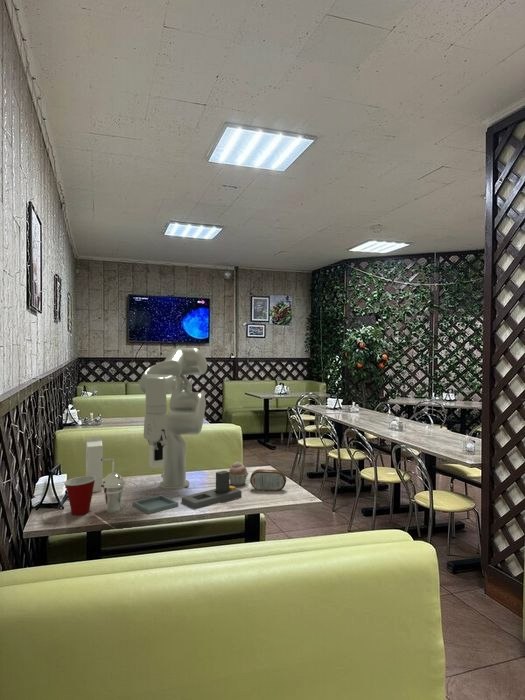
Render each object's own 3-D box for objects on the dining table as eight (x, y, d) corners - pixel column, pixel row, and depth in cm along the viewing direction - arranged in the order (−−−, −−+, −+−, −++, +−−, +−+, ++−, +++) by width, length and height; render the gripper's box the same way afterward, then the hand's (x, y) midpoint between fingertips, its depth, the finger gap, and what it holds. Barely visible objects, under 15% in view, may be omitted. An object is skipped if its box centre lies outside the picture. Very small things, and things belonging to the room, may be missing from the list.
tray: (133, 506, 167) (133, 501, 167) (161, 499, 176) (161, 494, 176) (148, 515, 159) (148, 510, 159) (178, 507, 167) (178, 502, 167)
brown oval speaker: (286, 489, 189) (286, 469, 189) (285, 492, 186) (285, 471, 186) (250, 488, 190) (250, 468, 190) (249, 490, 187) (249, 470, 187)
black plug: (215, 497, 178) (215, 472, 178) (224, 495, 181) (224, 470, 181) (220, 499, 175) (220, 474, 175) (229, 497, 178) (229, 472, 178)
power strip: (181, 503, 171) (181, 495, 171) (227, 491, 185) (227, 483, 185) (194, 510, 164) (195, 501, 164) (241, 497, 179) (241, 488, 179)
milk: (85, 489, 188) (85, 436, 188) (101, 487, 191) (100, 435, 191) (87, 493, 183) (87, 439, 183) (102, 491, 185) (102, 437, 186)
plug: (148, 467, 167) (148, 440, 167) (159, 465, 170) (159, 438, 170) (152, 468, 165) (152, 441, 165) (163, 466, 168) (163, 439, 168)
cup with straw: (128, 512, 161) (128, 456, 161) (102, 517, 156) (102, 460, 156) (121, 505, 168) (122, 452, 168) (96, 510, 163) (96, 455, 163)
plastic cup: (73, 506, 167) (73, 474, 167) (101, 507, 166) (101, 475, 166) (57, 517, 156) (57, 482, 156) (86, 518, 155) (86, 483, 155)
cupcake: (252, 482, 198) (252, 460, 198) (241, 488, 190) (241, 464, 190) (234, 479, 203) (234, 457, 203) (222, 485, 194) (223, 462, 194)
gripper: (136, 408, 171) (136, 456, 171) (158, 413, 159) (158, 465, 159) (154, 406, 176) (154, 453, 176) (176, 411, 164) (176, 461, 164)
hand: (156, 458), depth 167 cm, fingers closed on plug, 3 cm apart
